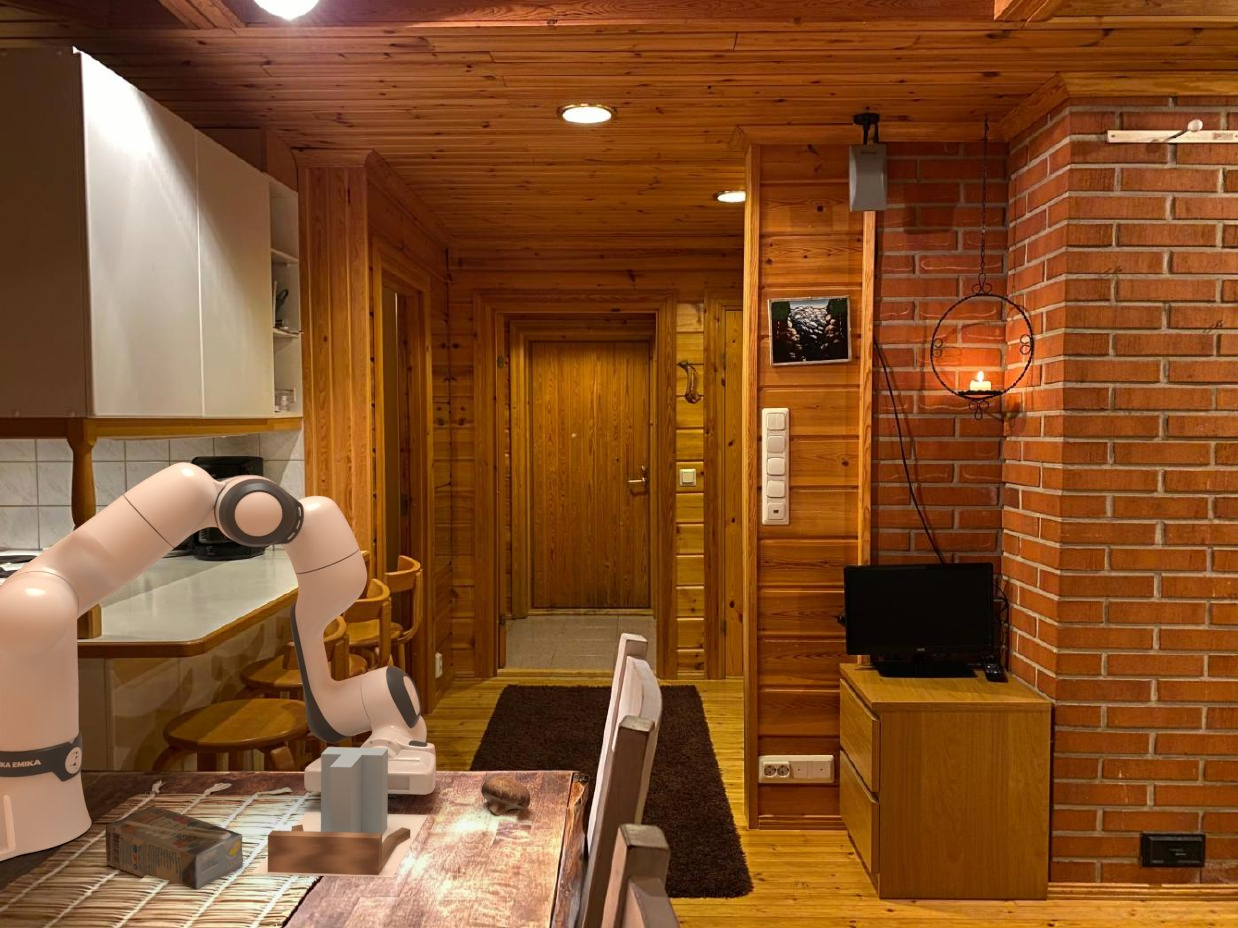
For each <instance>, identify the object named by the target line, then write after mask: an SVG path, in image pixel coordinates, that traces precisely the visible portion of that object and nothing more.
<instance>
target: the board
mask: <svg viewBox="0 0 1238 928" xmlns="http://www.w3.org/2000/svg"><path fill="white" fill-rule="evenodd" d="M428 816H429V815H428V814H405V813H404V814H400V813H398V814H397V813H396V814H395V813H393V814H392V813H387V829H386V831H385V832H384V834H383V835H382V843H383V841H384V840H385V838H386V837H388V835H390V834H391V833H393V832H395V831H397V830H398V829H400V828H402V827H403V828H407V829H410V838H409V839H407V840H405V841H404V842H402V843H400V844H398V845H397V846H396V847H395V849H394V851H393V852H392V854H391V856H390V857H389V859H388V861H387V862H386V864H385V866H384V867H383V869H382V871H381V872H380V874H379V875H355V874H319V873H284V872H268V854H267V856H265V857H264V859H263V860H262V861H261V862H260V863H259V864H258V866H256V868H255V869H253V871H252V872H251V873H250V874H251V875H276V876H277V875H279V876H280V875H285V876H314V877H315V876H316V877H318V876H321V877H351V878H352V877H355V878H356V877H358V878H386V879H387V878H388V879H389V878H391V879H393V878H394V876H395V874H396V873H397V870H398V869H399V867H400V865H401V863H402V862H403V860H404V859H405V857H406V855H407V853H408V852H409V849H410V848H411V846H412V844H413V843H414V841H415V839H416V837H417V836H418V834H419V832H420V830H421V828H422V826H423V825H424V823H425V821H426V819H427V818H428ZM296 825H303V830H304V831H313V832H321V811H320V812H319V811H306V812H305V813H304V814H303V815H302V817H300V818H299V820H298V821H297V822H296V823H295V824H294V825H293V826H296ZM289 831H292V828H291V829H289Z"/></svg>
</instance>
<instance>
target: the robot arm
mask: <svg viewBox="0 0 1238 928" xmlns="http://www.w3.org/2000/svg"><path fill="white" fill-rule="evenodd" d="M207 528H217V529H219V530H220V531H221V533H222V534H223V535H225V537H227V538H229V539H230V540H232V541H234V542H236V543H237V544H239V545H241V546H242V545H243V546H247V547H251V548H252V547H253V548H259V547H268V546H278V545H281V547H282V548H283V549H284V551H285V552H286V554H287V557H288V558H289V560H290V563H291V565H292V569H293V571H294V573H295V577H296V579H297V586H298V587H297V588H298V591H297V599H296V600H295V601H294V602H293V603H292V605H291V606H290V613H289V614H290V615H289V617H290V618H289V619H290V628H291V629H290V630H291V635H292V640H293V645H294V651H295V656H296V660H297V665H298V668H299V670H298V671H299V674H300V679H301V684H302V685H301V686H302V689H303V694H304V708H305V717H306V723H307V726H308V729H309V731H310V733H311V734H312V735H313V736H314V737H315V738H318V740H321V741H323V742H326V743H328V744H331V745H335V744H336V745H337V744H338V743H340V742H343V741H345V740H347V739H350V738H353V737H354V736H356V735H360V734H362V733H366V732H369V731H371V732H372V733H371V735H370V736H369V737H368V738H367V739H366V740H365V741H364V742H363V744H362V745H361V746H360V747H359V748H388V794H390V795H392V794H393V795H396V794H397V795H429V794H431V793H433V792H434V790H435V788H436V776H437V775H436V774H437V770H436V769H437V760H436V759H437V757H436V756H437V755H436V748H435V747H436V746H435V745H434V744H433V743H431V742H426V741H427V725H426V722H425V720H424V718H423V717H422V716H421V714H422V703H421V697H420V694H419V691H418V688H417V686H416V683H415V681H414V679H413V678H412V677H411V676H410V675H409V674H408V673H406V672H405V671H404V670H402V669H401V668H399V667H398V666H395V665H392V664H391V665H387V666H383V667H381V668H377V669H374V670H370V671H367V672H365V673H361V674H359V675H356V676H352V677H350V678H349V677H348V678H346V679H342V680H340V681H339V680H335V679H333V678H332V676H331V672H330V667H329V662H328V657H327V653H326V647H325V642H324V633H325V630H326V628H327V627H328V625H330V624H331V623H332V622H333V621H334V620H335V619H337V618H338V617H339V616H341V615H342V614H343V613H344V612H346V611H347V610H348V609H349V608H351V607H352V605H354V603H356V601H358V599H359V598H360V597H361V595H362V594H363V592H364V589H365V587H366V585H367V581H368V571H367V567H366V563H365V559H364V557H363V554H362V551H361V548H360V547H359V544H358V541H357V539H356V536H355V535H354V532H353V530H352V528H351V527H350V525H349V523H348V521H347V519H346V517H345V515H344V513H343V511H342V510H341V509H340V507H339V506H338V505H337V503H336V502H335V501H333V499H331V498H330V497H327V496H324V495H323V496H322V495H320V496H319V495H311V496H305V497H303V498H301V499H296V498H295V497H294V496H293V495H292V494H290V493H289V492H287V491H286V490H285V489H284V488H283V487H281V486H280V485H279V484H277V483H276V482H274V481H273V480H271V479H269V478H268V477H264V476H261V475H254V474H249V475H248V474H242V475H234V476H231V477H230V476H229V477H226V478H225V477H224V478H217V479H214V478H213V477H212V476H211V475H210V474H209V472H208V471H206V470H205V469H203V468H202V467H200V466H198V465H196V464H193V463H191V462H184V461H183V462H178V463H175V464H172V465H170V466H167V467H165V468H163V469H161V470H160V471H158V472H156V473H154V474H152V475H151V476H149V477H147V478H146V479H143V480H142V481H141V482H139V483H137V484H136V485H135V486H133V487H132V488H130V489H129V490H128V491H126V492H124V494H122V495H121V496H119V497H118V498H117V499H115V500H113V502H111V503H110V504H108V505H107V506H106V507H104V508H103V509H102V510H100V511H99V512H98V513H96V514H95V515H94V516H92V517H91V518H90V519H88V520H86V521H85V522H84V523H82V525H80V526H78V527H77V528H76V529H75V530H73V531H72V532H70V533H69V534H67V535H66V536H64V537H63V538H61V539H60V540H58V541H57V542H55V543H54V544H53V545H51V546H50V547H49V548H47V549H45V550H44V551H43V552H41V553H40V554H39V555H37V556H36V557H34V558H33V559H32V560H30V561H29V562H27V563H26V564H25V565H23V566H22V567H21V568H19V569H18V570H16V571H15V572H13V573H12V574H10V575H9V576H8V577H7V578H6V579H5V580H4V581H3V582H2V583H1V584H0V862H2V861H5V860H8V859H11V858H14V857H17V856H20V855H25V854H29V853H30V854H31V853H35V852H39V851H42V850H48V849H50V848H54V847H58V846H60V845H62V844H65V843H67V842H70V841H72V840H74V839H76V838H78V837H80V836H81V835H83V834H84V833H86V832H87V831H88V830H89V829H90V828H91V826H92V819H91V817H90V814H89V811H88V809H87V805H86V801H85V800H86V799H85V796H84V790H83V784H82V778H81V777H82V776H81V771H82V764H83V737H82V736H83V734H82V732H81V731H80V730H79V728H80V726H79V725H80V724H79V665H78V661H79V660H78V659H79V658H78V619H79V618H80V617H81V616H82V615H84V614H86V613H87V612H88V611H89V610H91V609H92V608H94V607H96V605H97V606H98V604H100V603H101V602H103V601H104V600H105V599H107V598H109V597H110V596H112V595H113V594H115V593H116V592H117V591H119V590H121V589H123V588H124V587H125V586H127V585H129V584H130V583H132V582H133V581H134V580H136V579H137V578H138V577H139V576H141V575H142V574H143V573H145V572H146V571H147V570H148V569H149V568H152V566H153V565H155V564H156V563H158V562H159V561H160V560H161V559H162V558H164V557H165V556H166V555H168V554H169V553H170V552H172V551H173V550H174V548H176V547H178V546H179V545H180V544H181V543H183V542H184V541H185V540H186V539H187V538H188V537H190V536H191V535H193V534H195V533H196V532H198V531H200V530H202V529H207ZM303 775H304V777H303V778H304V779H303V781H304V782H303V785H304V788H305V790H306V791H308V792H318V793H321V756H320V757H319V758H317V759H315V760H314V761H312V762H311V763H310V764H308V766H306V767H305V769H304V773H303Z"/></svg>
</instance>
